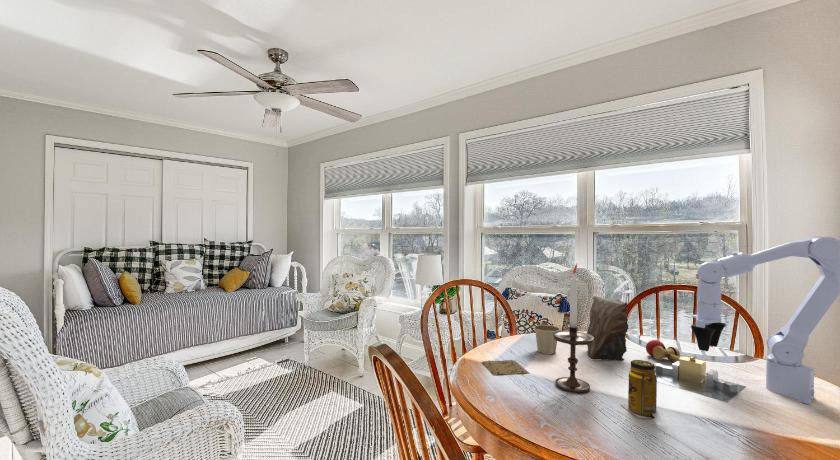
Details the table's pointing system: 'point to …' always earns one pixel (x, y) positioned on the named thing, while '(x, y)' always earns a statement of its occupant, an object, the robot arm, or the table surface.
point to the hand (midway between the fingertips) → (708, 348)
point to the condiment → (642, 389)
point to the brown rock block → (608, 329)
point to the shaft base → (708, 388)
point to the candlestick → (573, 344)
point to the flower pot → (546, 338)
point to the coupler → (692, 369)
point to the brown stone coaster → (504, 367)
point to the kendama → (662, 351)
